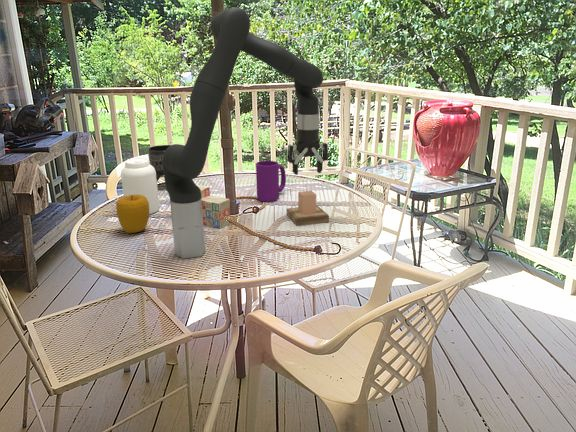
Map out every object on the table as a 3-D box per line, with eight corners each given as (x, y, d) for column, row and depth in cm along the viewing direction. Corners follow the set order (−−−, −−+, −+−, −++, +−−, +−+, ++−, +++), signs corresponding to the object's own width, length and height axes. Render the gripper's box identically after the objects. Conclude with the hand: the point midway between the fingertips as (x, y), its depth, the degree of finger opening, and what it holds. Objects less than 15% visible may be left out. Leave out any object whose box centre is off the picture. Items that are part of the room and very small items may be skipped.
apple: (142, 238, 165) (138, 201, 160) (112, 236, 167) (107, 199, 162) (157, 226, 175) (153, 191, 171) (128, 224, 177) (124, 190, 172)
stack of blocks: (231, 223, 177) (229, 190, 173) (219, 229, 172) (217, 195, 168) (187, 213, 188) (184, 182, 184) (175, 218, 183) (172, 186, 179)
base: (328, 222, 177) (328, 215, 176) (296, 225, 174) (296, 218, 173) (317, 211, 188) (317, 204, 187) (286, 215, 184) (286, 208, 183)
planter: (158, 182, 227) (154, 144, 221) (185, 183, 226) (182, 145, 220) (147, 191, 215) (142, 150, 209) (175, 192, 214) (171, 151, 208)
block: (315, 213, 178) (316, 194, 176) (302, 214, 177) (302, 195, 174) (311, 208, 183) (311, 190, 180) (298, 210, 181) (298, 191, 179)
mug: (252, 199, 202) (250, 163, 197) (276, 190, 214) (275, 156, 209) (269, 203, 197) (268, 167, 192) (293, 194, 208) (293, 159, 203)
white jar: (166, 209, 192) (161, 158, 185) (140, 218, 182) (133, 165, 175) (145, 203, 199) (139, 154, 192) (119, 212, 189) (112, 161, 182)
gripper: (291, 130, 164) (291, 177, 169) (331, 127, 168) (330, 174, 173) (284, 126, 171) (285, 172, 176) (323, 124, 175) (322, 169, 180)
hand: (307, 173), depth 175 cm, fingers open, 8 cm apart
